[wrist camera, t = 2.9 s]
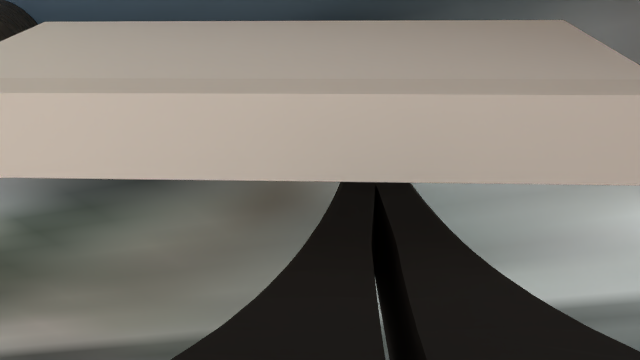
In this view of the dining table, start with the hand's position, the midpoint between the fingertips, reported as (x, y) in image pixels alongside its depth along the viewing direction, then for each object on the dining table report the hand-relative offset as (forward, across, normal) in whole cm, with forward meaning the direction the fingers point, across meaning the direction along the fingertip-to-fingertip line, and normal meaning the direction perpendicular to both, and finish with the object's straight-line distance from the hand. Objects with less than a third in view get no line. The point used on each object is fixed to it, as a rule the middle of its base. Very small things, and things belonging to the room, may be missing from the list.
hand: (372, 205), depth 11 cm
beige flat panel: (+1, +2, -3) cm, 4 cm away
